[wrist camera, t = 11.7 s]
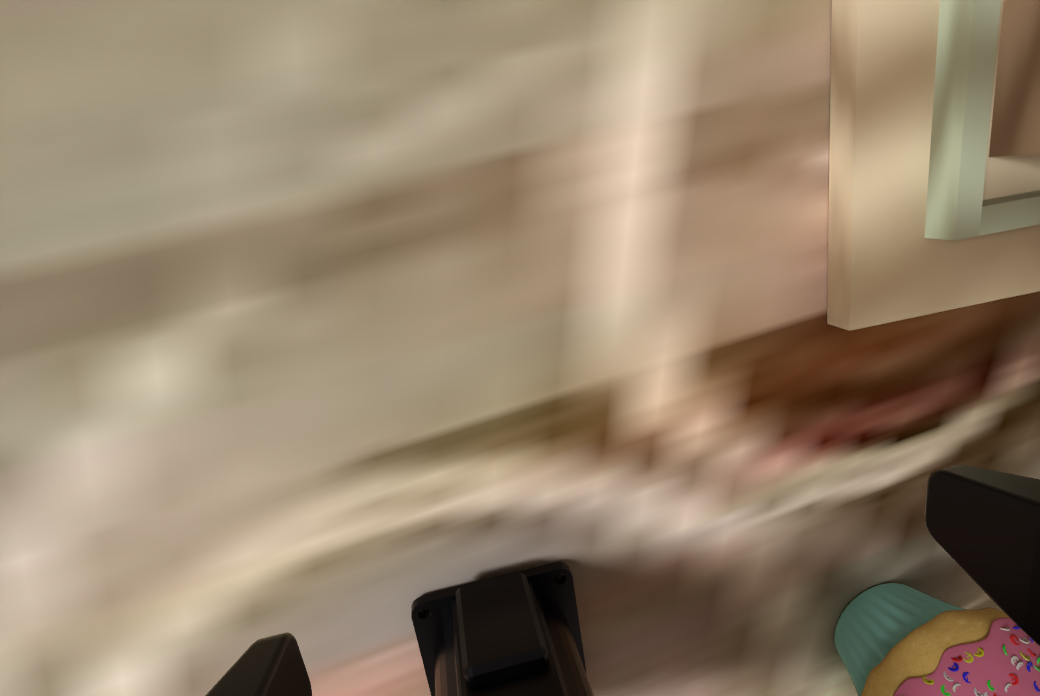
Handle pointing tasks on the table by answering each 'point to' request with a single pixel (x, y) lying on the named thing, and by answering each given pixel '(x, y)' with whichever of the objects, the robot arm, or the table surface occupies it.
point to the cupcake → (933, 647)
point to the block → (1017, 82)
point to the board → (922, 165)
